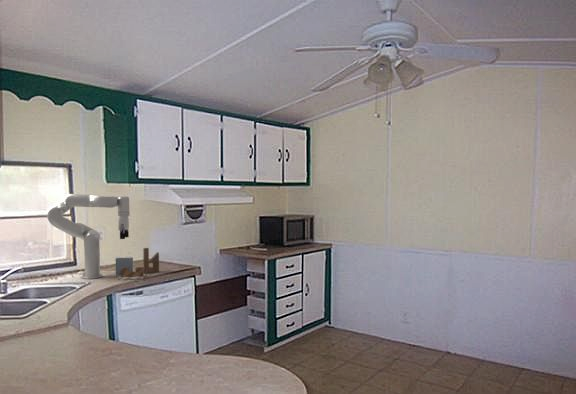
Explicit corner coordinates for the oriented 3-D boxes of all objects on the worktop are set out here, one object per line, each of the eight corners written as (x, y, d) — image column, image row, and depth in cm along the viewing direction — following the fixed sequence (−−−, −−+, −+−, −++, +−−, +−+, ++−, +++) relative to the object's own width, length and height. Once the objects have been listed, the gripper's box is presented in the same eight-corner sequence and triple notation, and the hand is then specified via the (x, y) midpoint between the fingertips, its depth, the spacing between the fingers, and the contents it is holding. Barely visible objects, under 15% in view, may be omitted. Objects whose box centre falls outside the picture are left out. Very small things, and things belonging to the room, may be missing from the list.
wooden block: (159, 271, 303) (158, 247, 303) (144, 273, 297) (144, 248, 296) (157, 271, 306) (157, 246, 306) (142, 272, 300) (142, 248, 299)
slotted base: (117, 280, 277) (117, 269, 277) (122, 276, 288) (122, 266, 288) (142, 279, 279) (142, 268, 279) (146, 275, 290) (146, 265, 290)
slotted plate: (132, 275, 293) (131, 258, 292) (115, 275, 291) (115, 258, 291) (133, 274, 296) (132, 257, 295) (117, 274, 294) (116, 257, 294)
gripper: (121, 213, 300) (122, 236, 301) (114, 215, 283) (115, 239, 284) (132, 213, 301) (132, 236, 302) (126, 214, 284) (126, 239, 285)
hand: (124, 238), depth 293 cm, fingers open, 9 cm apart
